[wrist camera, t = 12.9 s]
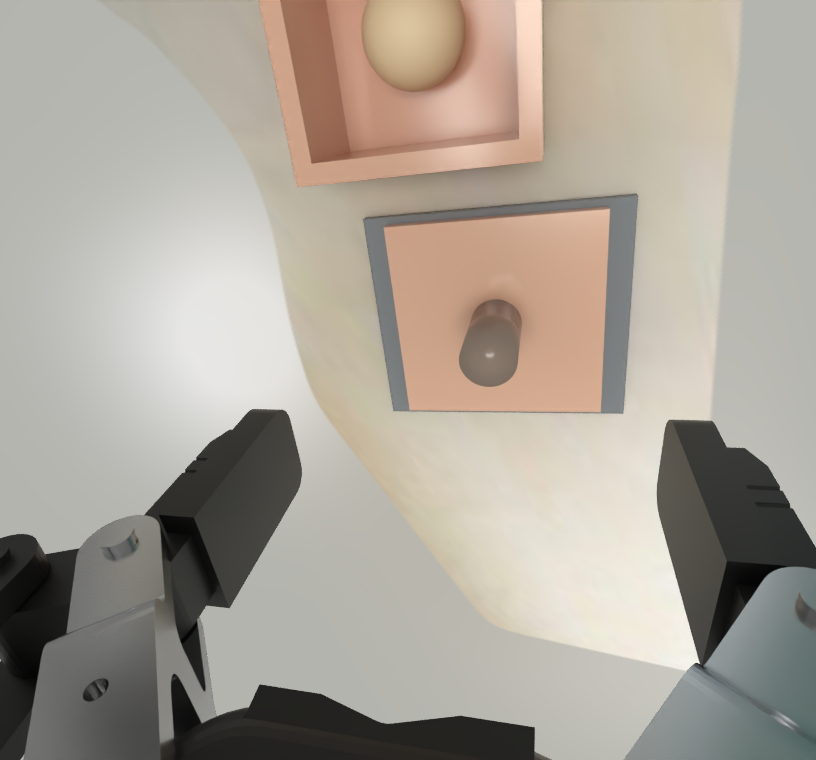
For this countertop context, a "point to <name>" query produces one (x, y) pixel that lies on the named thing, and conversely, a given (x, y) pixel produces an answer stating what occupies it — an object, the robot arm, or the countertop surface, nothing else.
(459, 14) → the beige ball
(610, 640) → the countertop surface
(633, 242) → the mat
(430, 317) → the lid
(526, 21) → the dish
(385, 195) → the countertop surface
